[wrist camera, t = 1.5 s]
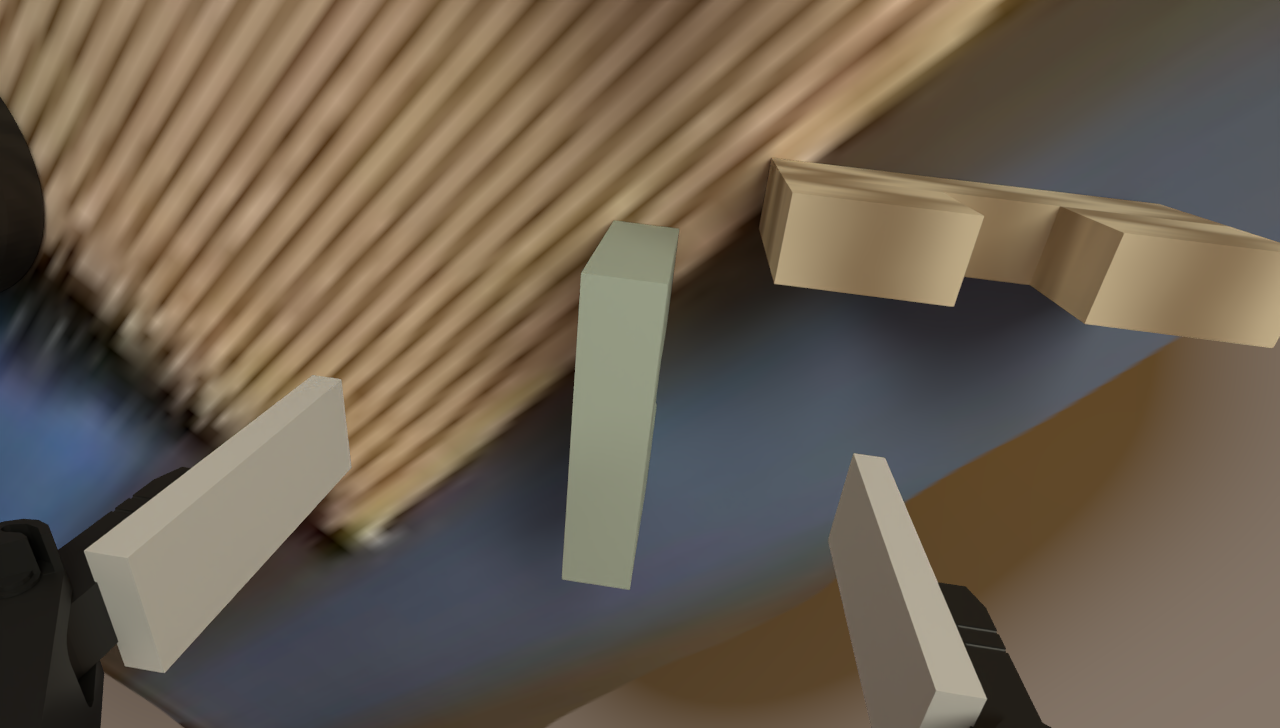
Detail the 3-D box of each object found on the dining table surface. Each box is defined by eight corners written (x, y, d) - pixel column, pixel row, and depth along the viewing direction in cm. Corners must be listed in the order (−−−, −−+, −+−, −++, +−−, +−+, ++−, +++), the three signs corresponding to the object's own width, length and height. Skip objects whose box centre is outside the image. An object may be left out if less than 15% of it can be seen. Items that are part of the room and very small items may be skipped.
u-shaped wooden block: (758, 227, 28) (774, 283, 21) (771, 157, 27) (792, 192, 20) (1127, 273, 28) (1272, 348, 20) (1158, 204, 26) (1326, 257, 19)
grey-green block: (592, 473, 35) (561, 579, 28) (613, 220, 29) (581, 272, 22) (646, 481, 35) (629, 589, 28) (679, 228, 29) (668, 284, 22)
